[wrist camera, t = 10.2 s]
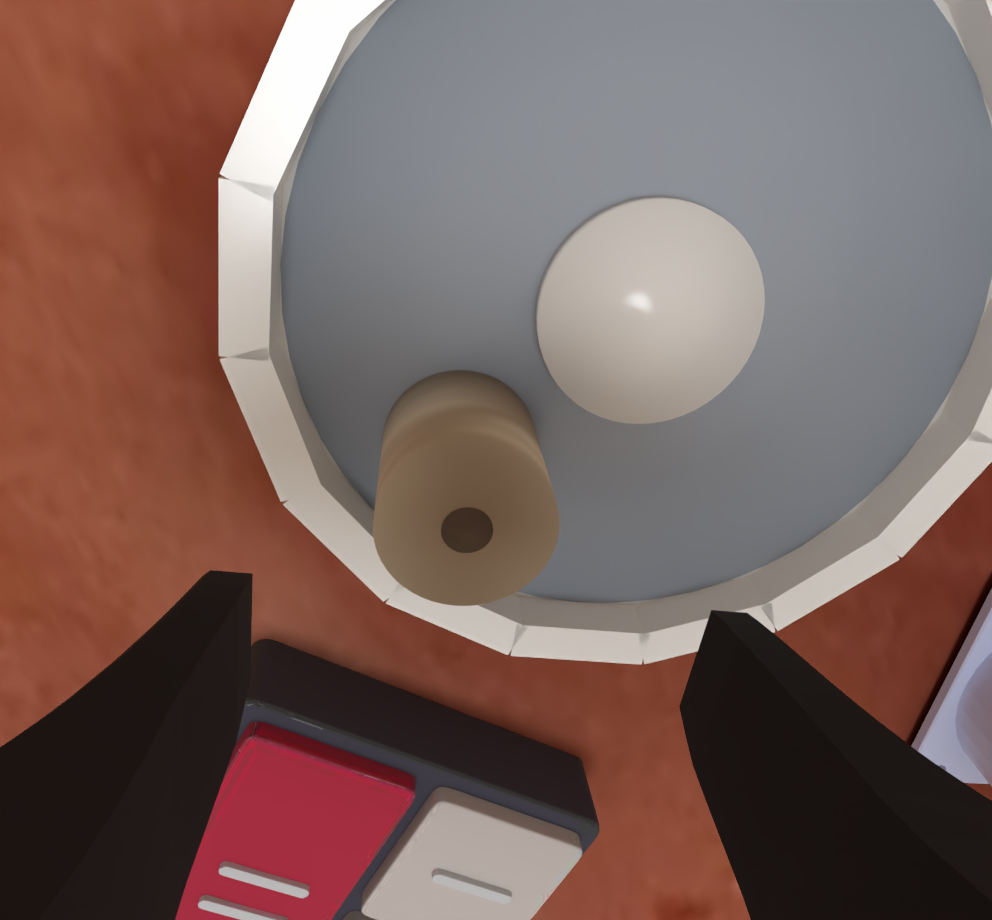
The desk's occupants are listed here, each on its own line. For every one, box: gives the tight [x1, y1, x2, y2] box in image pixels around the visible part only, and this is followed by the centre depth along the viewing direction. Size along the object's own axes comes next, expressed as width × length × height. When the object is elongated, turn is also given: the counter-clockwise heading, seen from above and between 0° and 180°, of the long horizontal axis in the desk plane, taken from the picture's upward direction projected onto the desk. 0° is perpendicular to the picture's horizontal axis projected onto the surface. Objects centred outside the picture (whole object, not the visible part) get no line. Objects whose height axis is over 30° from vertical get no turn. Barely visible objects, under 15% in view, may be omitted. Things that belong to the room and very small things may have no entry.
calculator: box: [175, 639, 599, 920], centre depth 25 cm, size 11×4×15 cm
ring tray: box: [219, 0, 992, 665], centre depth 18 cm, size 18×18×2 cm
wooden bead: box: [373, 370, 560, 606], centre depth 17 cm, size 4×4×4 cm
